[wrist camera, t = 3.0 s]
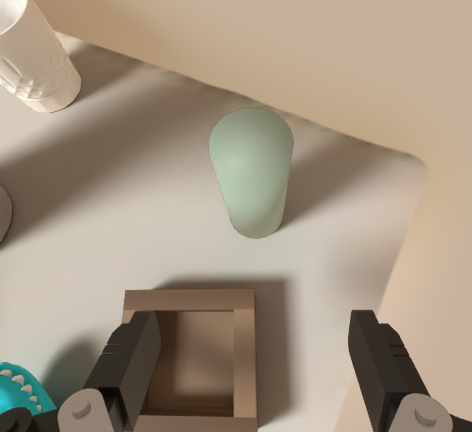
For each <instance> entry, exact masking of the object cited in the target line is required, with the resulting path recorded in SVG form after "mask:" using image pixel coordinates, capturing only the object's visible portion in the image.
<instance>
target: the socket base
mask: <svg viewBox="0 0 472 432" xmlns="http://www.w3.org/2000/svg"><path fill="white" fill-rule="evenodd" d="M137 310H154V311H155V313H156V317H157V322H158V326H159V331H160V336H161V349H160V353H159V356H158V359H157V362H156V365H155V368H154V371H153V374H152V377H151V380H150V383H149V386H148V389H147V392H146V395H145V398H144V401H143V404H142V407H141V410H140V413H139V416H138V419H137V422H136V425H135V428H134V431H133V432H258V413H257V364H256V314H255V292H254V289H178V290H125V299H124V308H123V317H122V323H129V322H130V320H131V318H132V316H133V314H134V312H135V311H137ZM123 432H126V431H123Z"/></svg>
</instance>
